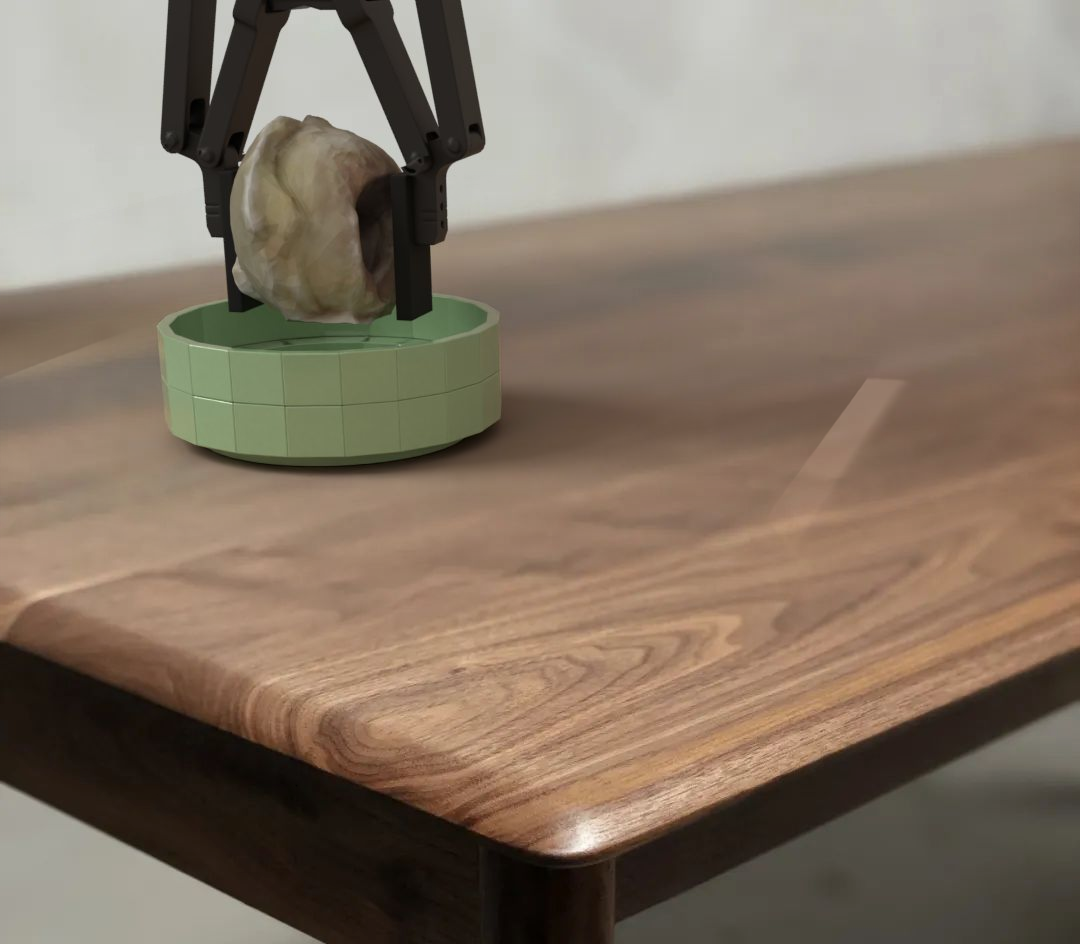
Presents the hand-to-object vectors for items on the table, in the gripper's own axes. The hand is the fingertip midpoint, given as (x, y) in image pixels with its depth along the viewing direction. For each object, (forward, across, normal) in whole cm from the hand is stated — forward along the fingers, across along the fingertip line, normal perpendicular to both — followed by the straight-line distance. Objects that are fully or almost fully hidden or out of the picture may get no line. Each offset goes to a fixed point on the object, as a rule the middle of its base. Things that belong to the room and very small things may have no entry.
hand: (330, 310), depth 88 cm
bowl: (+6, 0, 0) cm, 6 cm away
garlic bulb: (0, 0, 0) cm, 1 cm away
